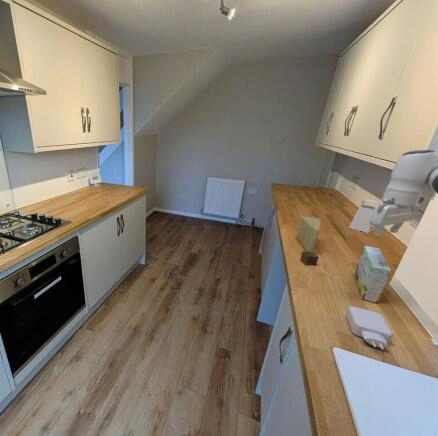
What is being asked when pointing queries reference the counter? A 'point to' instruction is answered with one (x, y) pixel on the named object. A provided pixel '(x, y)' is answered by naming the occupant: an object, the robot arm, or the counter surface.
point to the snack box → (371, 274)
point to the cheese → (308, 232)
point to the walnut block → (309, 258)
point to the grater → (363, 218)
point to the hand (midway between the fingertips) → (385, 233)
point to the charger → (369, 326)
